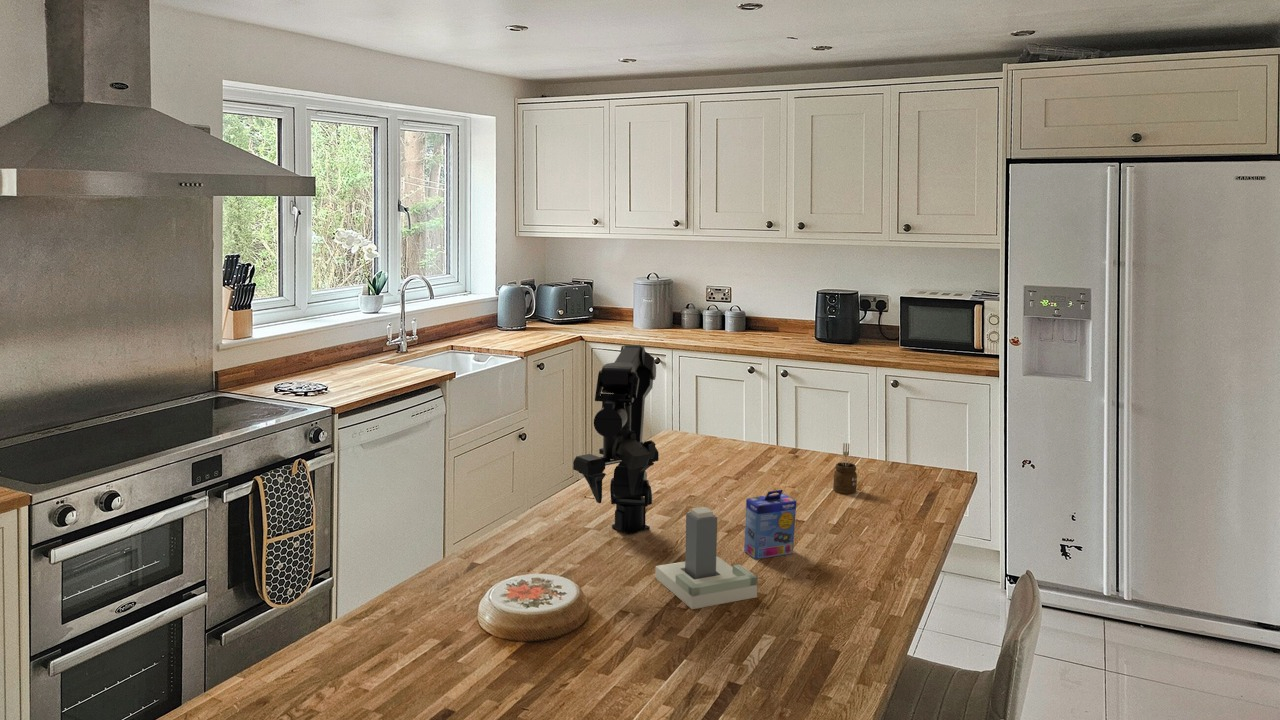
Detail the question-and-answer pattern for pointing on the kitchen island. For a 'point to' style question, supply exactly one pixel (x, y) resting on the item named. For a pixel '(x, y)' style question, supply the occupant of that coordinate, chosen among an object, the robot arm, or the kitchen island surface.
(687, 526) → the plug
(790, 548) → the ink cartridge box
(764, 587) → the kitchen island surface
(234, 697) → the kitchen island surface
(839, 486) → the utensil holder
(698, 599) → the socket box
